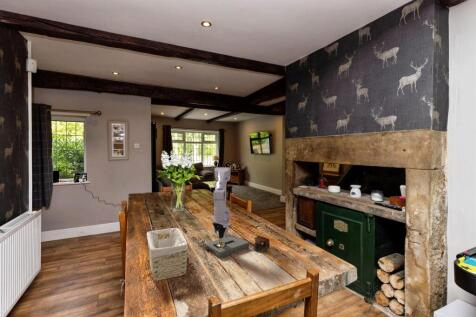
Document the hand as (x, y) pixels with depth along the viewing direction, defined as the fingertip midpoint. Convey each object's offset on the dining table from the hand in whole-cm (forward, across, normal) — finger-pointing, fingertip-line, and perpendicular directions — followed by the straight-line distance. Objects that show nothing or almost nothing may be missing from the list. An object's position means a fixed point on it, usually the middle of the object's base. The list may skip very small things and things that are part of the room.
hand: (219, 236), depth 129 cm
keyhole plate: (+8, +1, -5) cm, 10 cm away
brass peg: (+6, 0, -1) cm, 6 cm away
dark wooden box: (+9, -9, -22) cm, 25 cm away
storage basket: (+9, -3, +29) cm, 31 cm away
